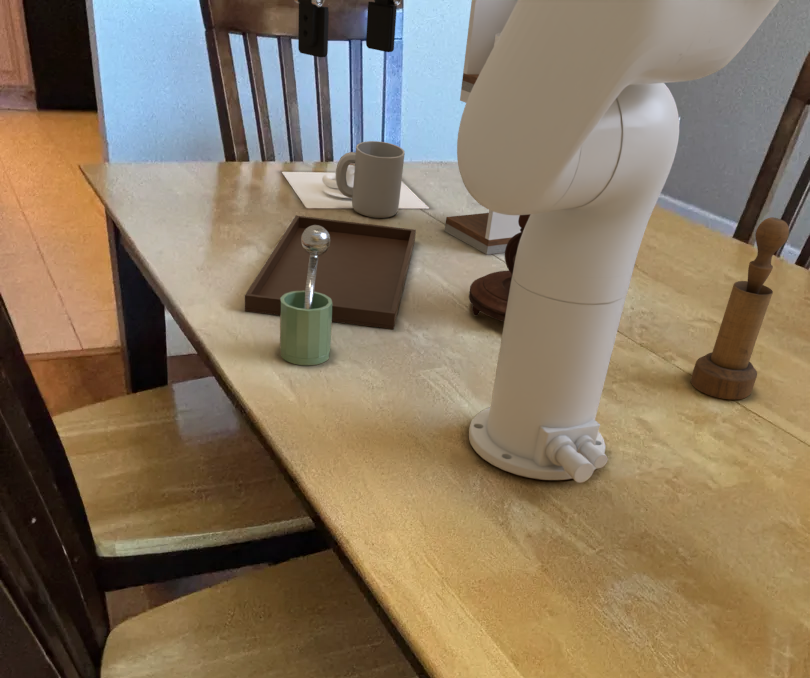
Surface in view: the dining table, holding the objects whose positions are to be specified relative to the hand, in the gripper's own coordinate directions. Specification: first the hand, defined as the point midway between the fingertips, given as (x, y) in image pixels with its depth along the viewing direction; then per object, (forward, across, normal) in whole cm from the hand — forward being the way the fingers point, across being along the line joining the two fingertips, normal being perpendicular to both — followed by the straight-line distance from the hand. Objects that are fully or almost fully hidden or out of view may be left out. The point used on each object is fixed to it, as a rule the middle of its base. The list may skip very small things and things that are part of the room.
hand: (347, 52), depth 84 cm
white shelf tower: (+27, +41, +5) cm, 49 cm away
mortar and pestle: (+28, +19, -39) cm, 52 cm away
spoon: (+27, -8, -3) cm, 28 cm away
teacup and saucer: (+27, +42, +34) cm, 60 cm away
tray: (+27, +11, +10) cm, 31 cm away
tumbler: (+27, -10, -4) cm, 29 cm away
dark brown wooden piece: (+28, +19, -14) cm, 36 cm away
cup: (+27, +35, +26) cm, 51 cm away
